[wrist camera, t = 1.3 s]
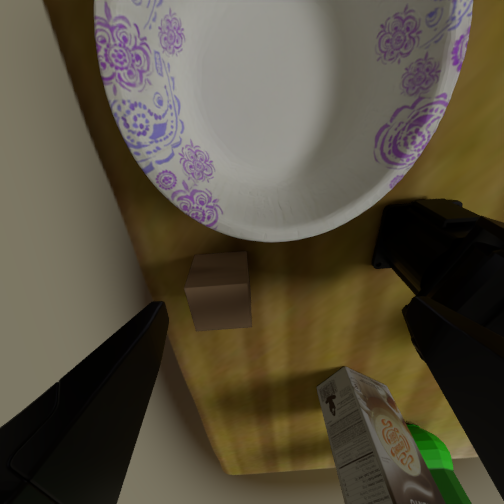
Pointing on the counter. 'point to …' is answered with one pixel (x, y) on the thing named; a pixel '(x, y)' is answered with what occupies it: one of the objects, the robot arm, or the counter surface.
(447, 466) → the plastic bottle
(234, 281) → the walnut block
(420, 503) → the coffee box
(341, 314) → the counter surface
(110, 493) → the robot arm
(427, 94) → the paper bowls
